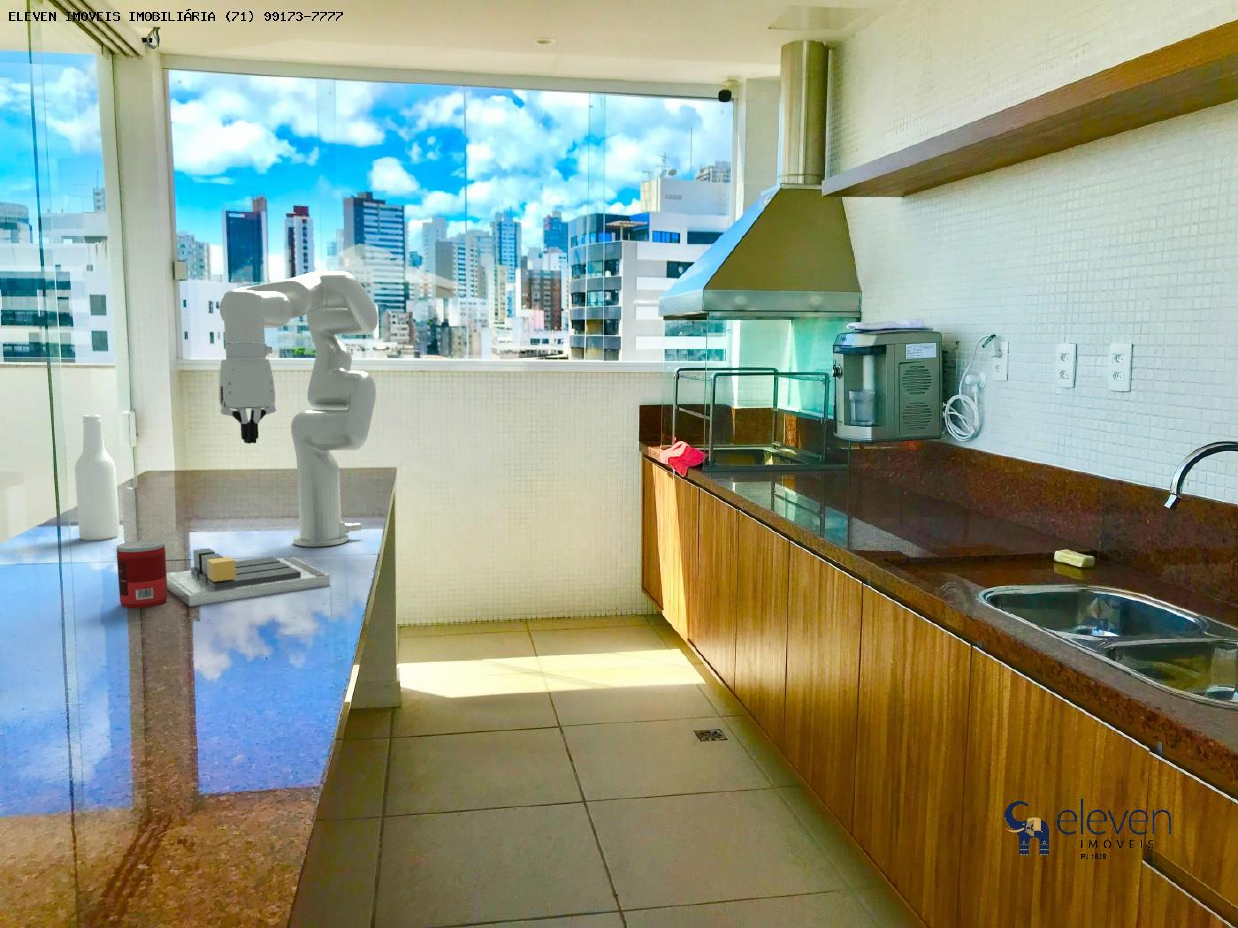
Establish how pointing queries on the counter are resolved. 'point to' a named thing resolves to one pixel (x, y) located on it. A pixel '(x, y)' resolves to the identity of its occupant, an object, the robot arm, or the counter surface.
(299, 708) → the counter surface
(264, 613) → the counter surface
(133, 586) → the canned food
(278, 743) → the counter surface
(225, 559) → the mustard yellow cube
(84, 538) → the alcohol
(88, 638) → the counter surface
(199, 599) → the panel
